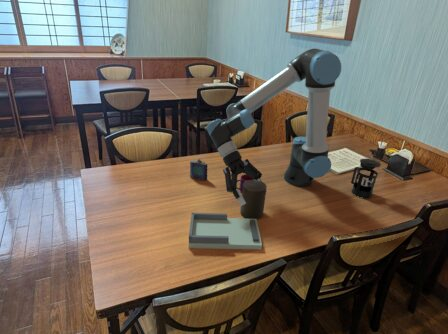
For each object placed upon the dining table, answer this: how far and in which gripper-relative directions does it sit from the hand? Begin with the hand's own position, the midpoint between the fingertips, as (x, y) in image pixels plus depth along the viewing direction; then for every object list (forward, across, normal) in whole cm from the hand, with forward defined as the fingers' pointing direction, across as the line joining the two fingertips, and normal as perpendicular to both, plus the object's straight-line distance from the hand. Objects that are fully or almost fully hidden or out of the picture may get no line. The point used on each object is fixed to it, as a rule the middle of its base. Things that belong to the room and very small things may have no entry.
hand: (254, 198), depth 126 cm
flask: (-22, -4, -33) cm, 40 cm away
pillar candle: (+5, 0, -6) cm, 8 cm away
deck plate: (+6, +19, -4) cm, 20 cm away
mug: (-6, -12, -17) cm, 21 cm away
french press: (+23, -54, +12) cm, 60 cm away
